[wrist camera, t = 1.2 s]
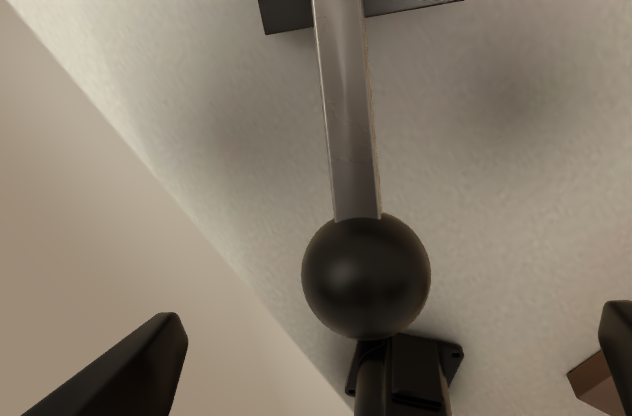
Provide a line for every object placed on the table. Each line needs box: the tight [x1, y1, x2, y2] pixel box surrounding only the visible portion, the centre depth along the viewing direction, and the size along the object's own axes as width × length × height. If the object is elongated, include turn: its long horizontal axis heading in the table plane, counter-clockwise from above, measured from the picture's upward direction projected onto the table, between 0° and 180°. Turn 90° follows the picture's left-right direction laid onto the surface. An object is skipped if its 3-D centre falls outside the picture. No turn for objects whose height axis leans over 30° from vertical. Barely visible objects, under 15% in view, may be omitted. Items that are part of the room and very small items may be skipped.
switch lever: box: [301, 0, 431, 341], centre depth 10 cm, size 13×3×3 cm, turn 10°
